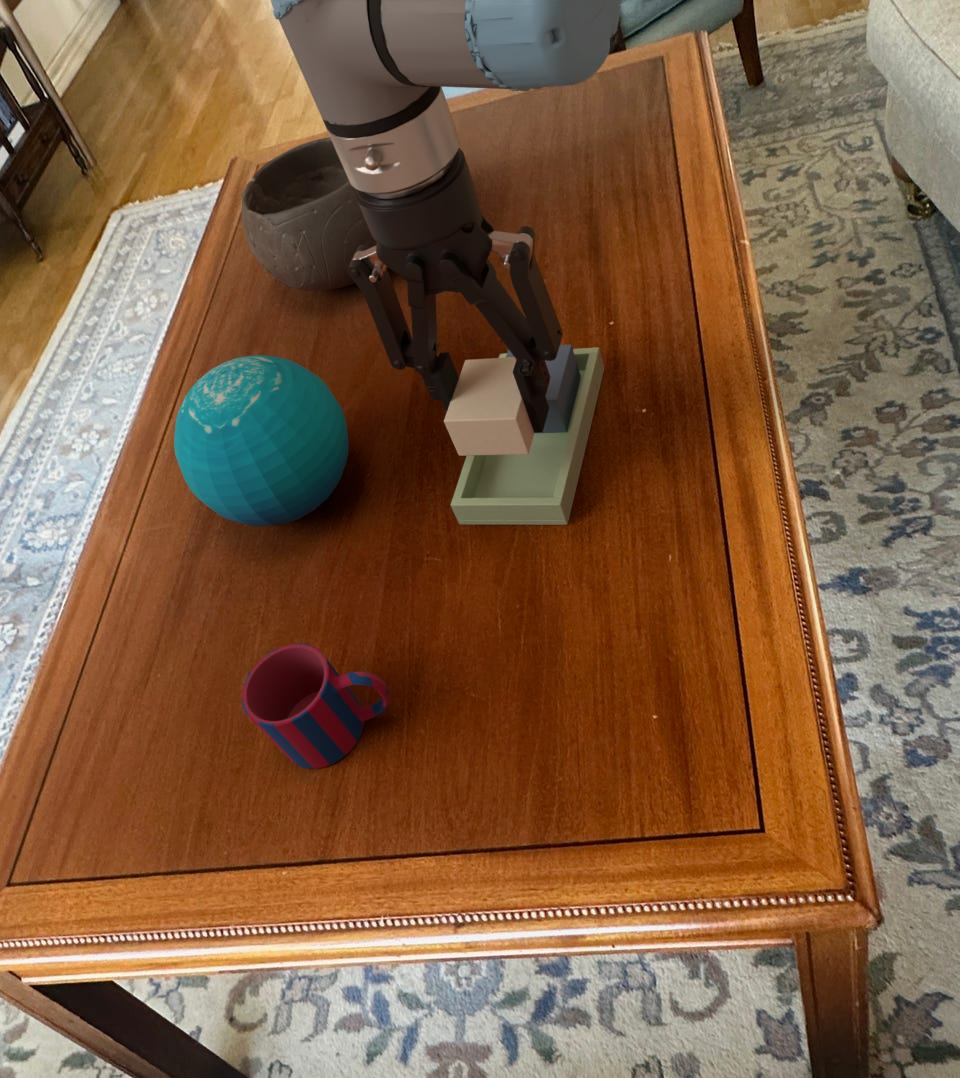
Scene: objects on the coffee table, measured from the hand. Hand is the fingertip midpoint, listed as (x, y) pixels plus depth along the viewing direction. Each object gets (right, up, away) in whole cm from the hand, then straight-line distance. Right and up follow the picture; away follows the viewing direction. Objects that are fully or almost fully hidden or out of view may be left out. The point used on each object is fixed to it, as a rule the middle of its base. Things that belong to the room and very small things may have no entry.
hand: (502, 421), depth 80 cm
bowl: (-17, +22, +35) cm, 44 cm away
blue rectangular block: (+4, +3, +9) cm, 10 cm away
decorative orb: (-19, -6, +12) cm, 23 cm away
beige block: (0, 0, 0) cm, 0 cm away
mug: (-12, -24, -6) cm, 27 cm away
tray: (+3, -1, +7) cm, 8 cm away
